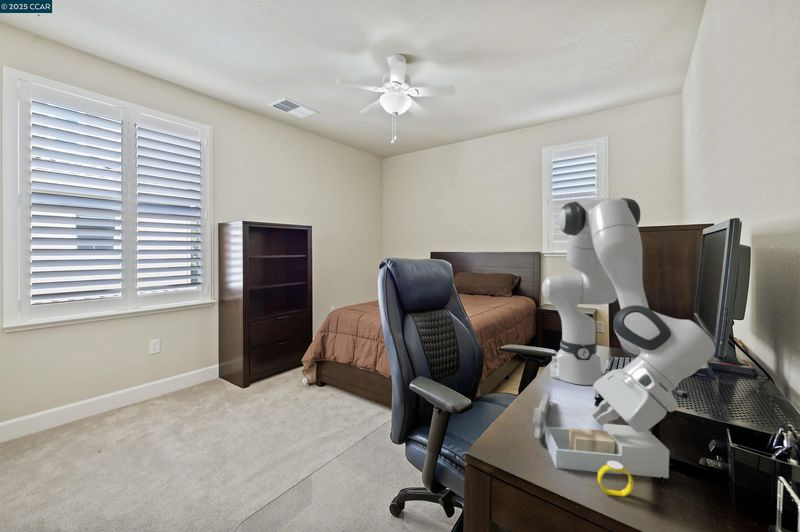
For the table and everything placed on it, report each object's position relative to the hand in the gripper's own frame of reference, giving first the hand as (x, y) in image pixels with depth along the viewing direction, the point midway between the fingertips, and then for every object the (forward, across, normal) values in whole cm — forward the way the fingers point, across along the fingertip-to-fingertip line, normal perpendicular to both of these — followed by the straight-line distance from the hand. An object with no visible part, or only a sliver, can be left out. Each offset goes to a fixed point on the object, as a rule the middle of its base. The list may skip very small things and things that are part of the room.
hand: (596, 420), depth 80 cm
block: (+2, 0, +6) cm, 7 cm away
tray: (+9, 0, +4) cm, 10 cm away
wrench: (+12, -17, +1) cm, 21 cm away
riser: (+1, 0, +12) cm, 12 cm away
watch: (+7, +12, +6) cm, 15 cm away
